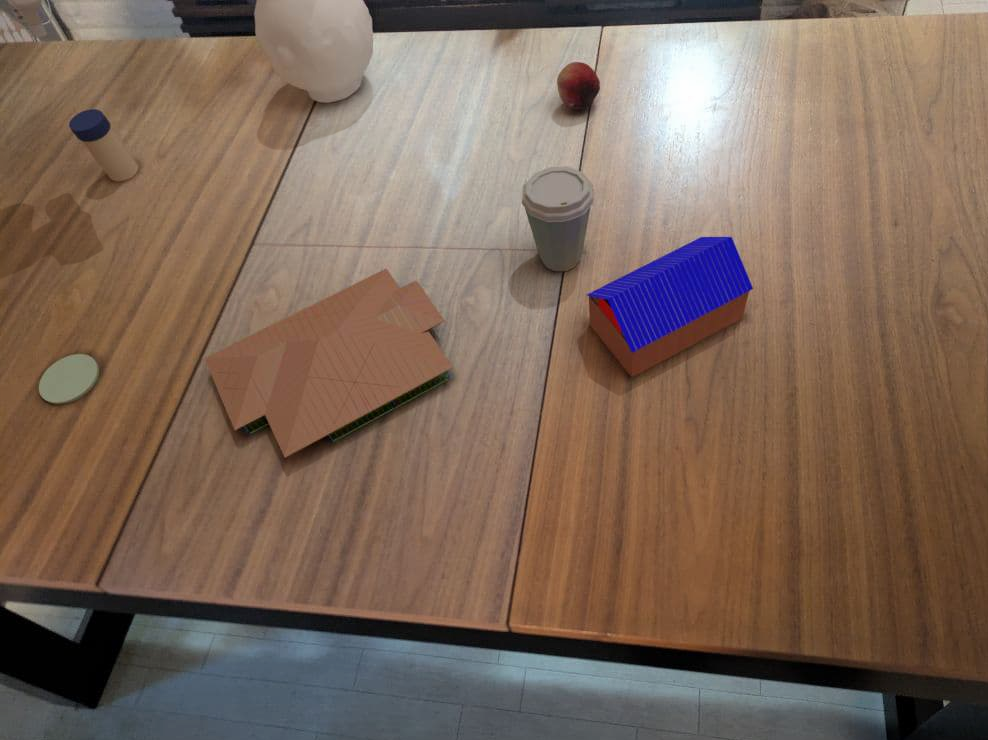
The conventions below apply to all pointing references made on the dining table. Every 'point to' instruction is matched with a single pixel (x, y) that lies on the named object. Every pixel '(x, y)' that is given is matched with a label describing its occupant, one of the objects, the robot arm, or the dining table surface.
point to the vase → (316, 44)
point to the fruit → (578, 85)
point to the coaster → (69, 379)
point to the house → (671, 303)
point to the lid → (89, 125)
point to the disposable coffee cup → (558, 214)
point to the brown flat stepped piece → (332, 362)
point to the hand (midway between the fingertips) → (33, 28)
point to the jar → (113, 156)
